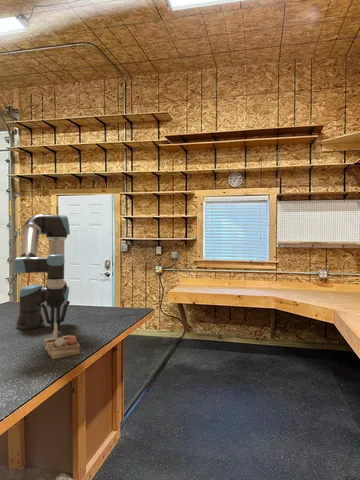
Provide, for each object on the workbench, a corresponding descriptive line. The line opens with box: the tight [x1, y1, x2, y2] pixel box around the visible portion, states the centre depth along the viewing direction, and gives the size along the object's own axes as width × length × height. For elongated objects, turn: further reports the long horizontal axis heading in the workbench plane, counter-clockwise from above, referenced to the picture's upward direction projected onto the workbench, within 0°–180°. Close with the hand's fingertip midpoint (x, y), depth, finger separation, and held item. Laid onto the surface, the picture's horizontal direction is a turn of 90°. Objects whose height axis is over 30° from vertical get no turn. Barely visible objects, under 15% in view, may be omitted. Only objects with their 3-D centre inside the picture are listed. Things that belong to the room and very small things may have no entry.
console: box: [43, 334, 81, 360], centre depth 147 cm, size 16×12×4 cm
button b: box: [55, 338, 64, 347], centre depth 143 cm, size 4×4×3 cm
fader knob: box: [57, 330, 63, 338], centre depth 150 cm, size 3×2×3 cm
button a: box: [68, 335, 77, 345], centre depth 146 cm, size 4×4×3 cm
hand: (55, 337), depth 149 cm, fingers closed
